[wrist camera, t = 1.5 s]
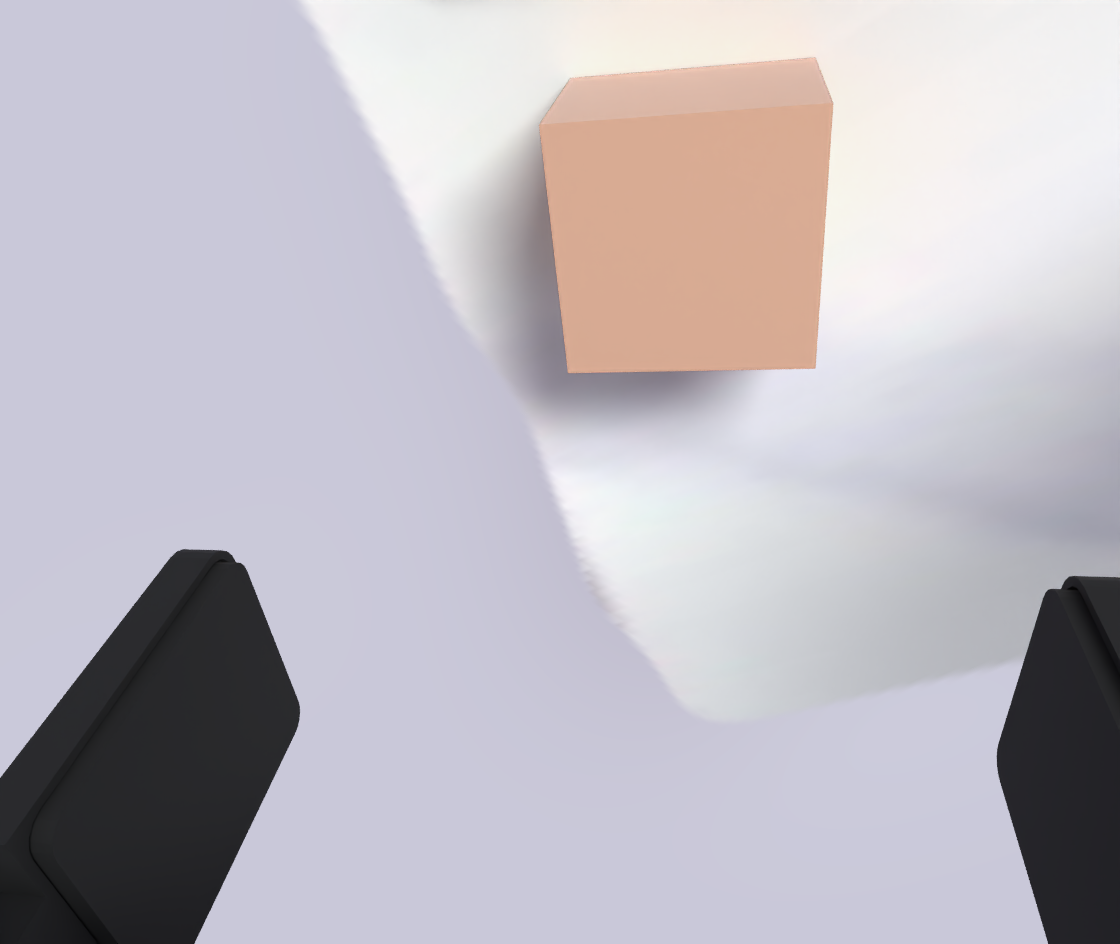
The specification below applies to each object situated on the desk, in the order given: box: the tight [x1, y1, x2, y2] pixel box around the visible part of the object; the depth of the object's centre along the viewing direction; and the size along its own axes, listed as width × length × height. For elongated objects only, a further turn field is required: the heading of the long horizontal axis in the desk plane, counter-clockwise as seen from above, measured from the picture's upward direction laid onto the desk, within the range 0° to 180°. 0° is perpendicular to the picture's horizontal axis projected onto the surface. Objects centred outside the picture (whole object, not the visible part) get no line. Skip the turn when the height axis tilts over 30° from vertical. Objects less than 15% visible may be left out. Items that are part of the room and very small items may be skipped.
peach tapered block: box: [539, 58, 833, 373], centre depth 24 cm, size 7×7×5 cm
